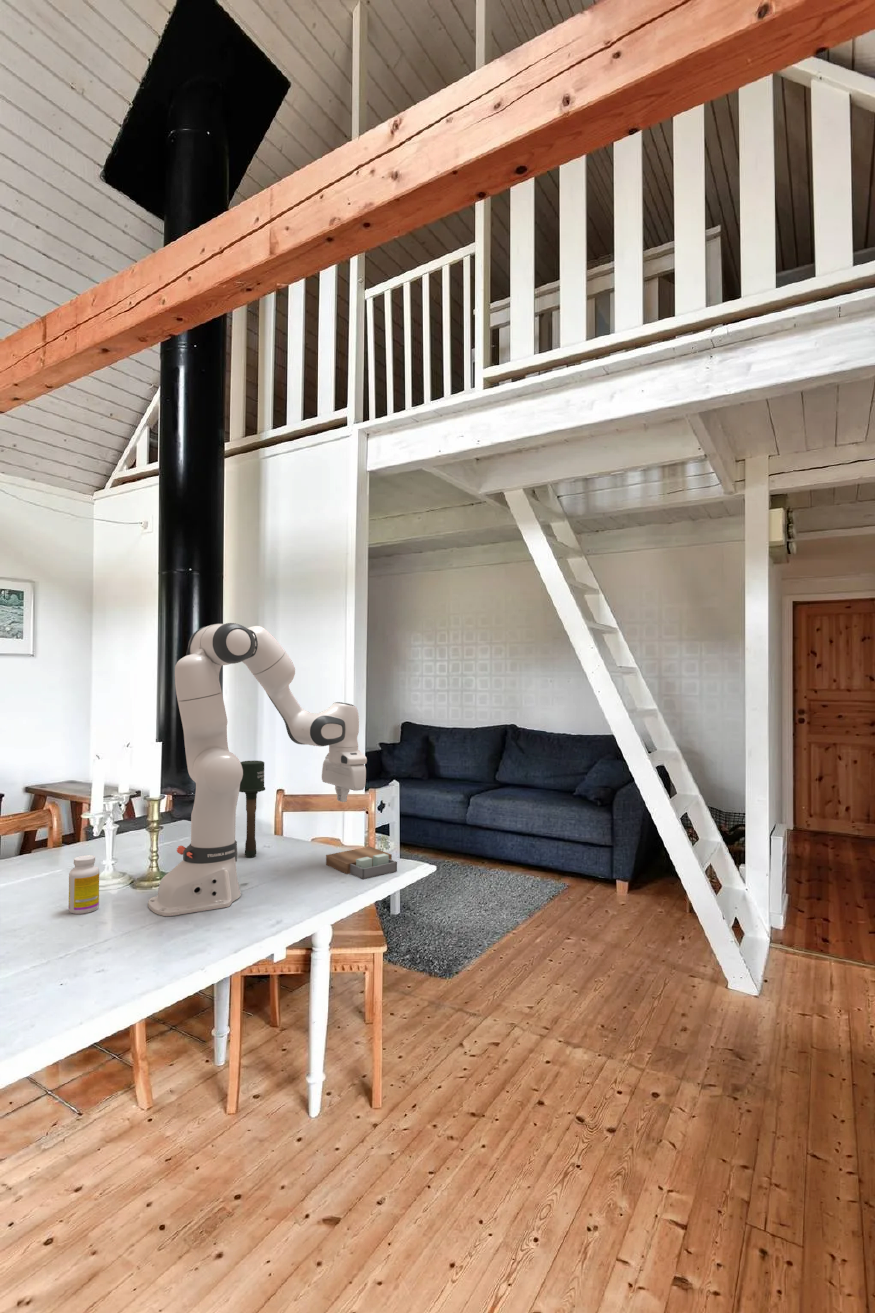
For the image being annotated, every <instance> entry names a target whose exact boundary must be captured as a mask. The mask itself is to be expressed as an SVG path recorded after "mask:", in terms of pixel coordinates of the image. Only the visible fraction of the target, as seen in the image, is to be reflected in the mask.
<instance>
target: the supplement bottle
mask: <svg viewBox="0 0 875 1313" xmlns="http://www.w3.org/2000/svg"><path fill="white" fill-rule="evenodd" d="M95 862H96V856H95V855H93V854H91V855H89V854H88V855H85V854H84V855H80V856H76V857H74V858H73V865H74V867H73V868H72V869H70V871H69V873H68V875H69V876H68V912H69V913H71V914H74V915H82V914H83V915H84V914H89V913H92V912H94V911H96V910H98V908H99V906H100V869H99V867H98V866H96V865H95Z"/></svg>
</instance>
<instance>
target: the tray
mask: <svg viewBox="0 0 875 1313" xmlns="http://www.w3.org/2000/svg"><path fill="white" fill-rule="evenodd" d="M397 872H398V861H395V860H393V859H392V860H391V859H389V863H387V864H383V865H378V866H374V867H369V868H365V869H363V868H361V867H358V866H356V865H353V864H350V874H349V875H351V876H354V877H357V878H359V879H361V880H366V879H367V880H368V879H370V878H374V877H380V876H383V875H387V874H391V873H397Z"/></svg>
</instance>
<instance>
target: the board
mask: <svg viewBox="0 0 875 1313" xmlns="http://www.w3.org/2000/svg"><path fill="white" fill-rule="evenodd" d="M383 853H384V854H387V855H389V859H391V860H393V859H392V854H391V853H390V852H389V853H388V852H386V851H384V850H380V849H377V848H375V847H372V846H370V845H369V846H365V847H360V848H355V849H350V850H344V851H341V852H336V853H335V852H334V853H328V854H326V855H325V865H326V866H327V867H330V868H332V869H334V870H337V871H339V872H340V873H343V874H345V875H351V874H350V864H353V865H356V859H359V858H364V857H369V858H372V867H373V856H374V855H379V854H383Z"/></svg>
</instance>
